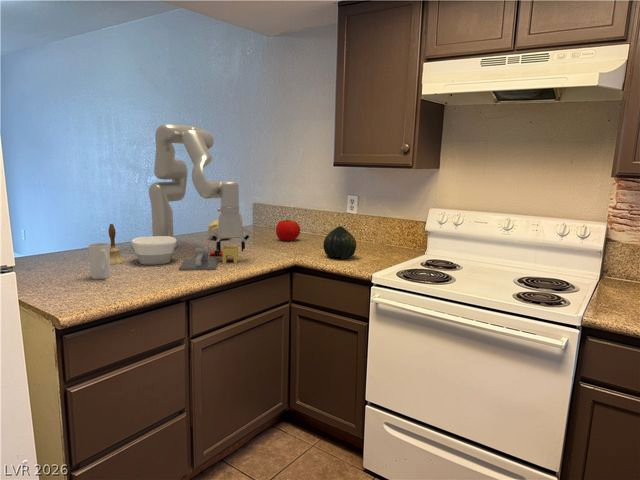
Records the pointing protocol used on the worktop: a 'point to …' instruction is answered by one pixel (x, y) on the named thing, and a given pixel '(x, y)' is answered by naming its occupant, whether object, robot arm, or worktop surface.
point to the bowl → (154, 249)
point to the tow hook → (216, 252)
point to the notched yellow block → (230, 253)
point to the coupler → (200, 261)
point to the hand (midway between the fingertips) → (231, 250)
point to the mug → (99, 260)
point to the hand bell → (114, 248)
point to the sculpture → (213, 227)
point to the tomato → (287, 230)
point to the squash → (339, 243)
